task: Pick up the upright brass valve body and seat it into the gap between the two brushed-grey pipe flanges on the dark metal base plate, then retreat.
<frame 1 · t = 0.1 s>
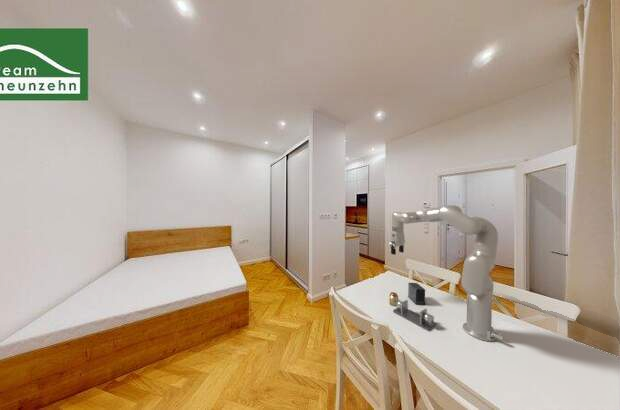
hand: (397, 253, 134), 31 cm above the table, fingers open, 9 cm apart
small box: (416, 301, 128), on the table
valve: (393, 304, 124), on the table
pipe run: (413, 318, 109), on the table
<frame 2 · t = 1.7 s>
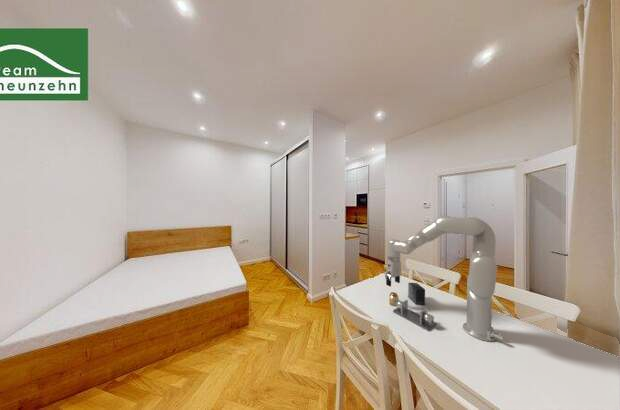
hand: (393, 283, 124), 13 cm above the table, fingers open, 9 cm apart
nothing on the table moved.
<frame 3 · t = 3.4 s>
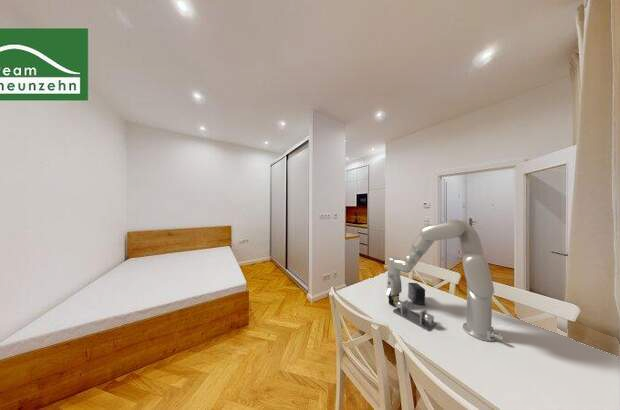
hand: (393, 302, 124), 1 cm above the table, fingers closed on valve, 5 cm apart
valve: (393, 304, 124), on the table, touching gripper
everything else where it was.
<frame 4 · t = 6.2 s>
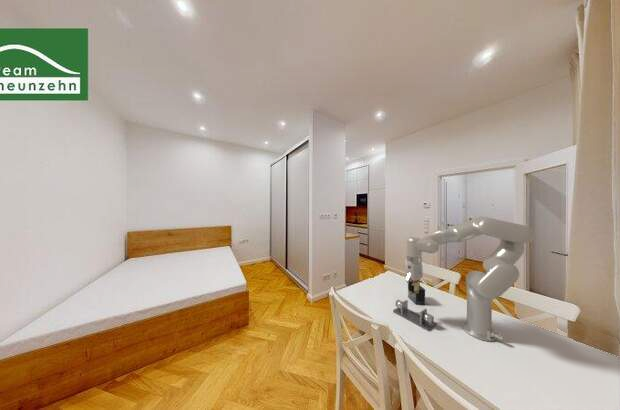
hand: (413, 289, 109), 17 cm above the table, fingers closed on valve, 5 cm apart
valve: (413, 291, 109), point 16 cm above the table, touching gripper
everything else where it was.
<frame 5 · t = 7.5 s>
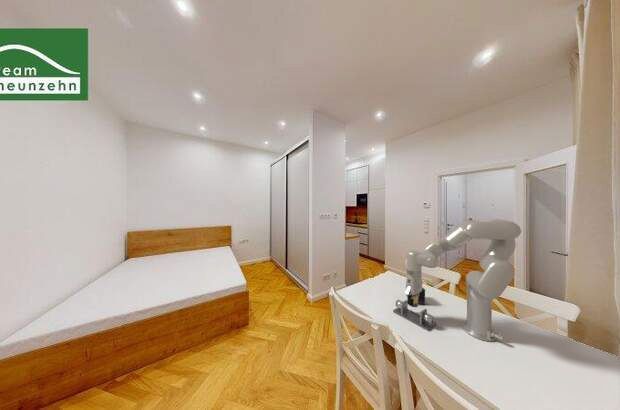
hand: (413, 303, 109), 9 cm above the table, fingers closed on valve, 5 cm apart
valve: (413, 304, 109), point 8 cm above the table, touching gripper
everything else where it was.
when the fingers open (4 cm above the table, at t = 8.9 s): valve drops 1 cm, resting on pipe run.
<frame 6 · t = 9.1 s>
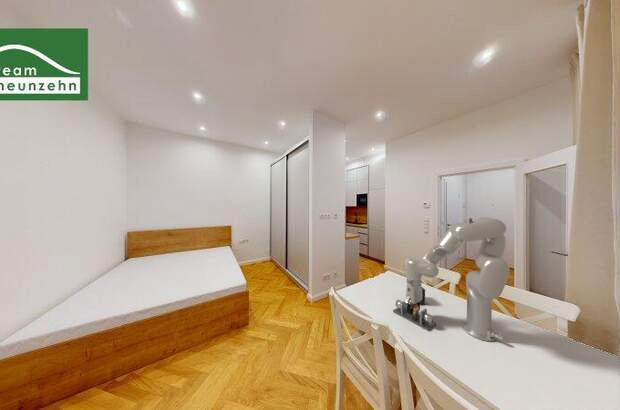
hand: (413, 311, 109), 4 cm above the table, fingers open, 7 cm apart
valve: (413, 316, 109), point 1 cm above the table, touching pipe run
everything else where it was.
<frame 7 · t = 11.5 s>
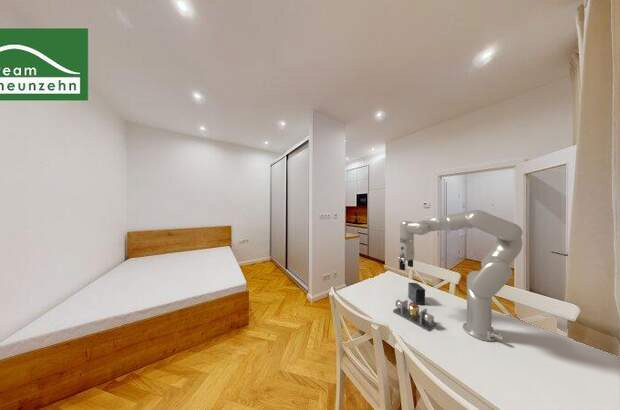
hand: (406, 268, 117), 26 cm above the table, fingers open, 9 cm apart
nothing on the table moved.
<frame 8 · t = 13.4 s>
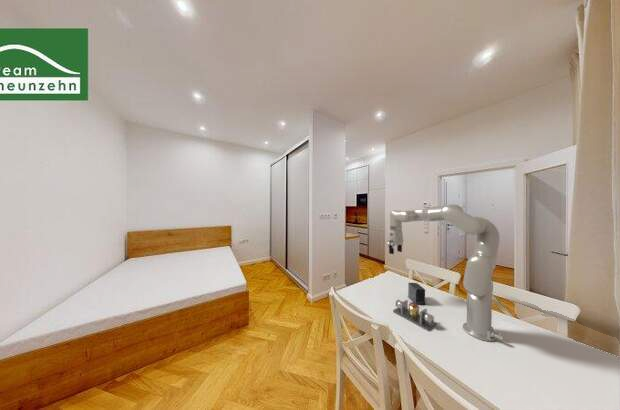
hand: (395, 252, 131), 32 cm above the table, fingers open, 9 cm apart
nothing on the table moved.
at the end: valve 0.1 cm off-centre on the pipe run, point 1.2 cm above the pipe run's base; valve tilted 0°; the gripper is holding nothing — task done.
